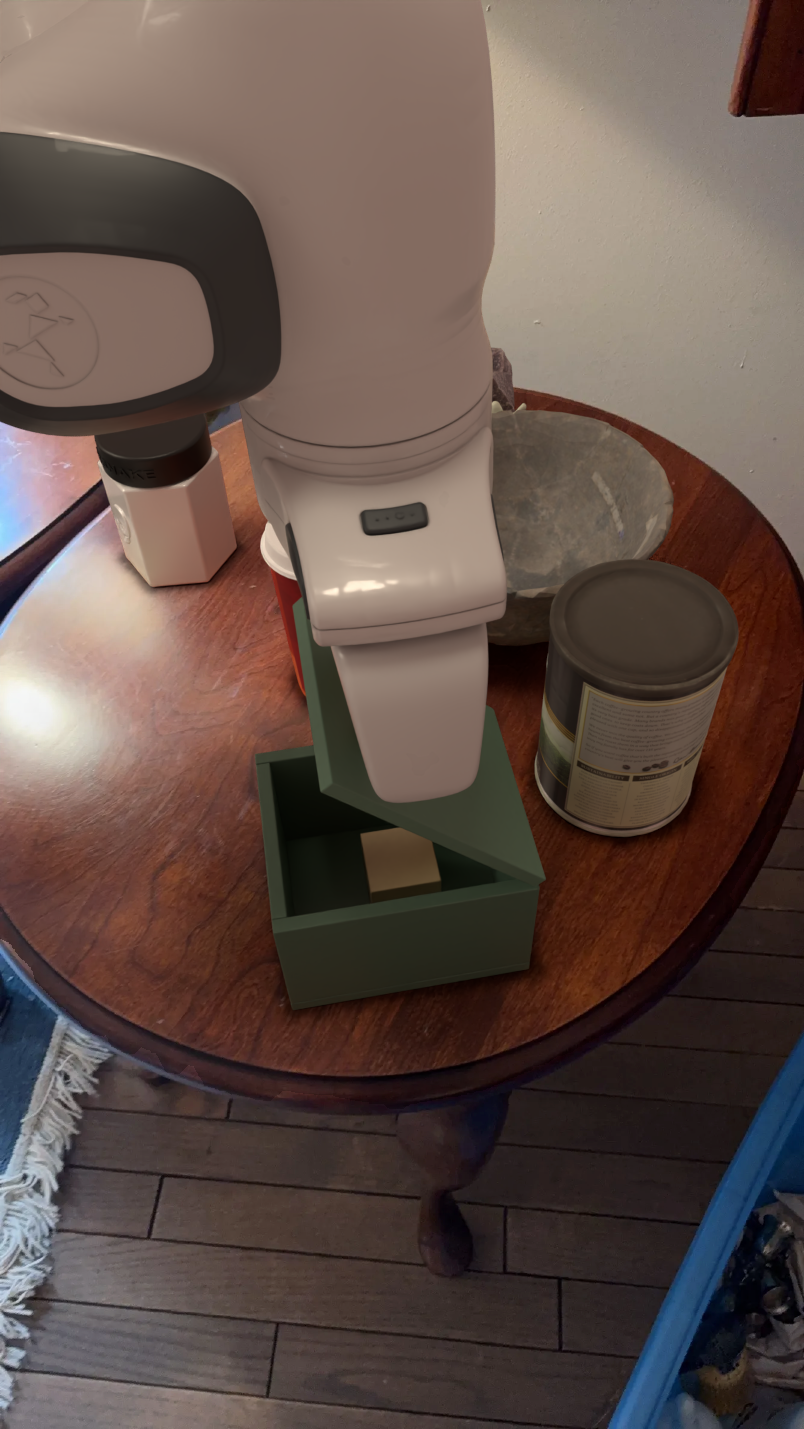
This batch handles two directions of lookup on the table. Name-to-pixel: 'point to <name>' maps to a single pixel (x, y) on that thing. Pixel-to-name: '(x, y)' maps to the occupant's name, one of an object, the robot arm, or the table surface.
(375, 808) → the lid
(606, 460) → the bowl
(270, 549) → the paper cup
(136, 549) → the jar
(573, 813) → the coffee can
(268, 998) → the table surface
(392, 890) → the block
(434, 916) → the chest
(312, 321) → the robot arm
